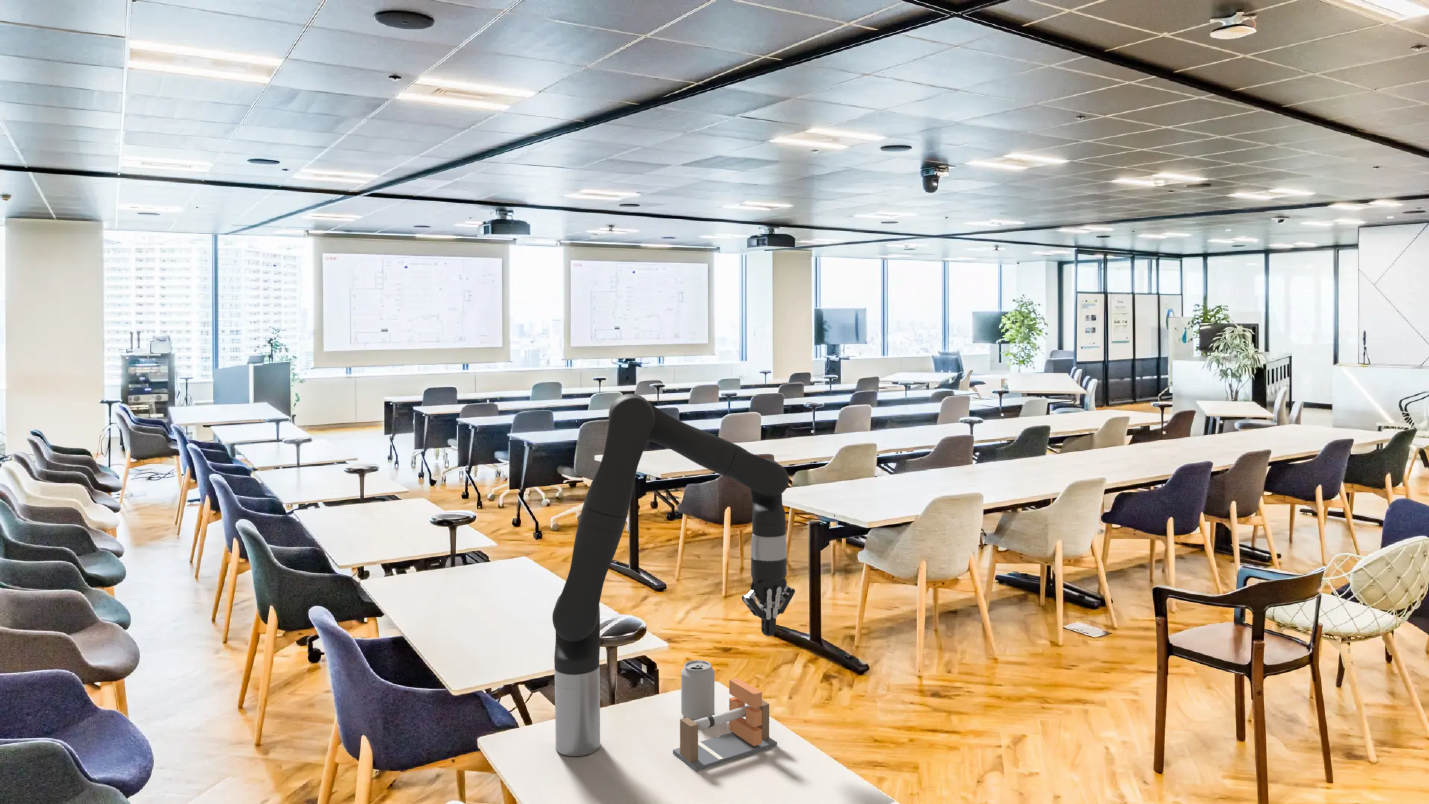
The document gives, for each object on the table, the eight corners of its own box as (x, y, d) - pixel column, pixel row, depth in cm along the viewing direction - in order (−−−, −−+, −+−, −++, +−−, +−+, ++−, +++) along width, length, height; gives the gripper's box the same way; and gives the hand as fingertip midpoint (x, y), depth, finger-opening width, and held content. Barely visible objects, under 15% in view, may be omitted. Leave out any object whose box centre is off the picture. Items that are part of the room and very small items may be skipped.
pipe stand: (696, 771, 179) (696, 731, 179) (672, 753, 187) (672, 714, 186) (777, 745, 190) (777, 707, 190) (751, 729, 198) (752, 693, 197)
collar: (753, 746, 187) (754, 694, 186) (729, 729, 195) (729, 679, 194) (761, 743, 188) (762, 692, 187) (736, 727, 196) (737, 678, 195)
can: (677, 721, 202) (677, 668, 201) (686, 707, 210) (686, 656, 209) (710, 724, 201) (710, 671, 200) (717, 710, 208) (718, 659, 207)
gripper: (782, 546, 198) (782, 624, 200) (732, 555, 191) (732, 635, 192) (804, 554, 192) (804, 634, 193) (753, 563, 185) (753, 646, 186)
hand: (768, 634), depth 193 cm, fingers closed
